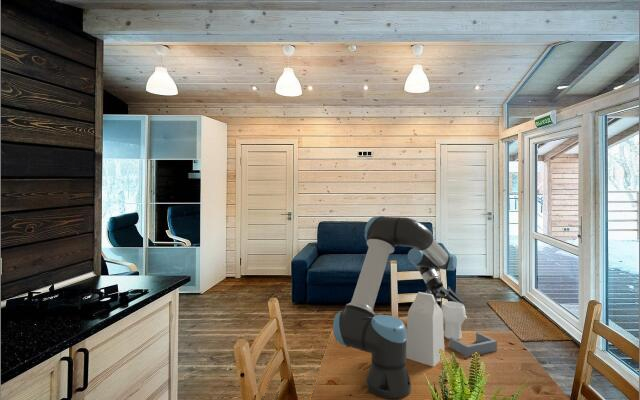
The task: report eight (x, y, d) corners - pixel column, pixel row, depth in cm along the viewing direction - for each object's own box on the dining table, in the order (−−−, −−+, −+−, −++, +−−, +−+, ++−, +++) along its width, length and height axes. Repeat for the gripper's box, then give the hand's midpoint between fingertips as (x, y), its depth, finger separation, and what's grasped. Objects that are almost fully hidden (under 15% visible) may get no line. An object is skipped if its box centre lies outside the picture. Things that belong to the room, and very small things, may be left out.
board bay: (467, 357, 147) (467, 347, 147) (449, 346, 157) (449, 337, 157) (496, 350, 153) (497, 341, 153) (477, 341, 163) (477, 332, 163)
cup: (461, 332, 173) (461, 301, 172) (468, 341, 162) (468, 308, 162) (438, 331, 174) (438, 300, 173) (443, 340, 163) (444, 307, 163)
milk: (444, 356, 148) (445, 293, 147) (433, 366, 139) (434, 299, 139) (416, 348, 156) (417, 288, 155) (404, 357, 147) (405, 294, 146)
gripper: (448, 282, 188) (470, 320, 175) (408, 287, 179) (427, 328, 166) (456, 274, 183) (478, 313, 170) (415, 279, 174) (435, 320, 161)
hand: (453, 320), depth 168 cm, fingers open, 13 cm apart
